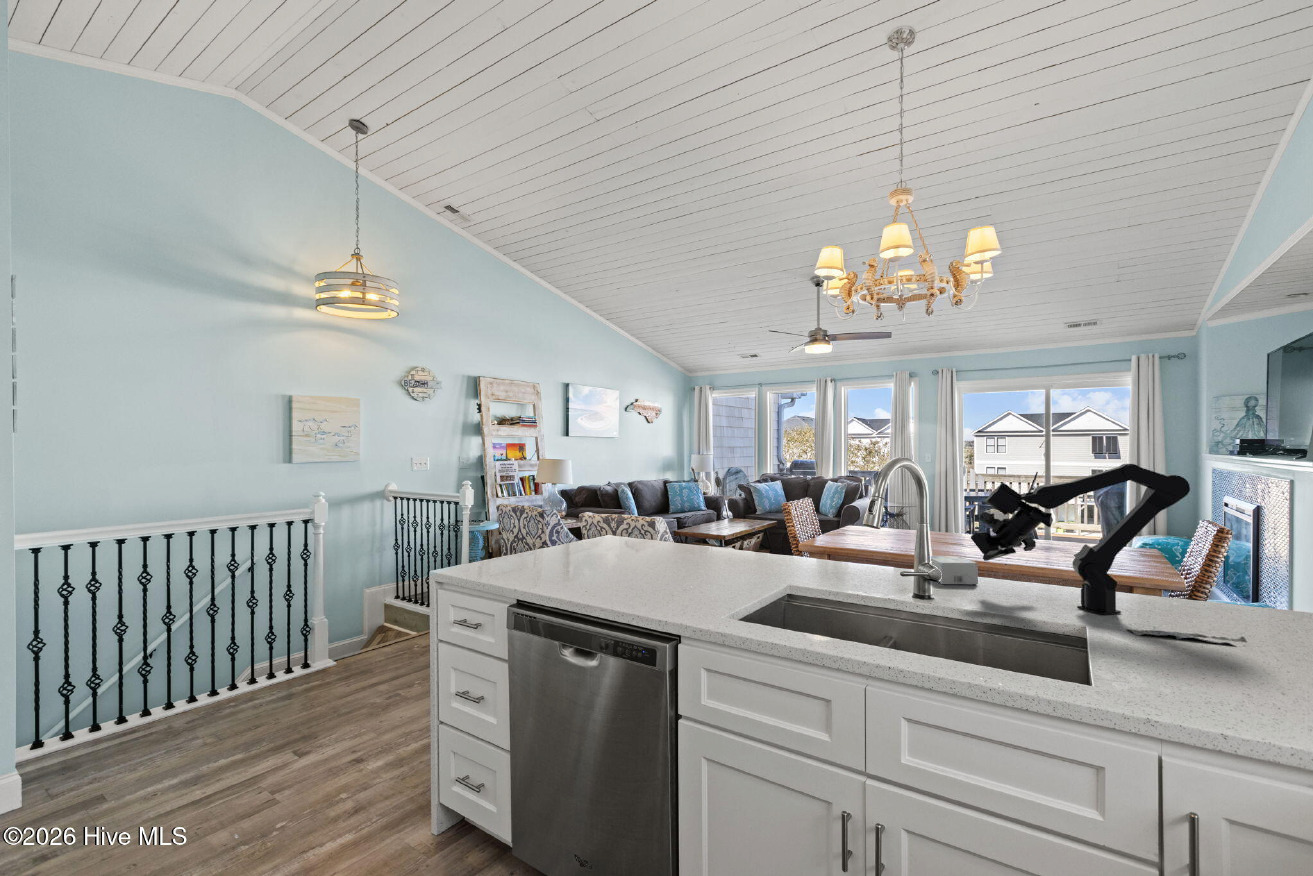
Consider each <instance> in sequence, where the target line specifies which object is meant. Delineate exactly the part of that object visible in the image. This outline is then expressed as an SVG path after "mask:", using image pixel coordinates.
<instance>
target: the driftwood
mask: <svg viewBox="0 0 1313 876" xmlns="http://www.w3.org/2000/svg"><path fill="white" fill-rule="evenodd" d="M1152 628H1153V630H1152V629H1151V630H1148V629H1147V630H1145V629H1142V630H1135V629H1128V631H1129V632H1132V633H1133V634H1134V635H1136V636H1142V635H1145V634H1146V635H1155V636H1169V635H1170V636H1175V637H1176V640H1179V639H1186V638H1190V639H1193V640H1194V639H1195V640H1200V641H1204V642H1207V643H1216V644H1219V642H1217V641H1214V640H1218V641H1219V640H1220V641H1221V642H1220V644H1224V645H1232V646H1233V647H1237V645H1234V644H1232V643H1231V642H1234V643H1236V642H1237V643H1238V642H1239V643H1240V642H1241V643H1248V641H1247V639H1246V637H1245V636H1240V637H1239V638H1228V637H1226V636H1225V637H1224V636H1218V637H1217V636H1208V635H1205V634H1200V633H1188V632H1186V633H1185V632H1178V631H1164V630H1156V629H1155V627H1152ZM1154 629H1155V630H1154ZM1203 638H1204V639H1203ZM1205 638H1207V639H1209V638H1210V639H1214V640H1207V639H1205ZM1223 641H1224V642H1223ZM1227 641H1228V642H1227ZM1230 641H1231V642H1230ZM1242 647H1246V648H1247V647H1250V646H1247V645H1242Z"/></svg>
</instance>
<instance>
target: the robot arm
mask: <svg viewBox="0 0 1313 876" xmlns="http://www.w3.org/2000/svg"><path fill="white" fill-rule="evenodd" d="M1129 481H1131V482H1133V483H1136V484H1138V485H1141V486H1143V487H1146V489H1145V490H1144V492H1143V494H1142V497H1141V499H1140V501H1139V502H1138V503H1137V504H1136V505H1135V506H1134V507H1133V508H1132V509H1131V510H1130V511H1129V512H1128V513H1127V514H1126V515H1125V516H1124V517H1123V518H1122V519H1121V520H1120V521H1119V523H1117V524H1116V525H1115V527H1113V529H1111V531H1110V532H1109V533H1107V534H1106V535H1105V537H1104V538H1103V539H1101V540H1100V541H1099V543H1097V544H1095V545H1093V546H1090V545H1088V544H1084V545H1083V546H1082V548H1081V549H1080V550H1079V552H1077V553H1075V554H1073V557H1075V558H1074V559H1073V560H1072V568H1073V570H1074V572H1075V573H1076V574H1077V575H1079V576H1080V578H1082V581H1083V583H1082V584H1081V589H1080V604H1081V605H1077V606H1076V608H1077V609H1080V610H1083V611H1086V612H1090V613H1094V614H1097V615H1113V614H1114V615H1115V614H1121V613H1122V611H1121V610H1118V609H1117V604H1116V603H1117V600H1116V599H1117V597H1116V595H1117V594H1116V593H1117V592H1116V591H1117V589H1116V588H1117V586H1118V581H1116V580H1115V579H1114V578H1113V577H1112V576H1111V575H1110V574H1109V573H1108V572H1109V571H1110V569H1111V567H1113V566H1112V565H1113V563H1114V561H1115V558H1116V557H1117V555H1118V554H1119V553H1120V552H1121V551H1122V550H1123V549H1124V548H1125V547H1126V546H1128V544H1129V543H1130V542H1131V541H1132V540H1134V538H1135V537H1136V536H1137V535H1138V534H1139V533H1140V532H1141V531H1142V530H1143V529H1144V528H1145V527H1146V526H1147V525H1148V524H1149V523H1150V522H1151V521H1153V519H1154V518H1155V517H1156V516H1158V514H1159V513H1160V512H1162V511H1164V510H1166V509H1167V508H1170V507H1171V506H1173V505H1175V504H1177V503H1178V502H1180V501H1181V500H1182V499H1184V498H1185V497H1187V496H1188V494H1189V493H1190V491H1191V488H1190V487H1191V486H1190V483H1189V481H1188V480H1187V479H1186V478H1185V477H1183V476H1180V475H1177V474H1169V473H1164V474H1162V473H1159V472H1156V471H1153V470H1151V469H1148V468H1143V467H1141V466H1139V465H1137V464H1135V463H1123V464H1121V465H1119V466H1116V467H1113V468H1110V469H1109V468H1108V469H1106V470H1103V471H1099V472H1097V473H1092V474H1091V475H1090V474H1089V475H1087V476H1084V477H1080V478H1077V479H1073V480H1071V481H1070V480H1069V481H1065V482H1056V483H1049V484H1041V485H1039V486H1037V487H1035V488H1034V490H1033V491H1029V492H1023V493H1019V492H1017V491H1016V490H1014V489H1012V488H1011V487H1010V486H1009V485H1008V484H1006V483H1005V482H1001V483H1000V484H999V486H997V487H996V488H995V489H994V490H992V491H991V493H990V494H989V495H988V496H987V498H986V499H985V501H984V502H985V503H986V504H987V505H989V506H990V507H992V508H994V509H991V510H990V509H988V510H985V511H982V513H980V514H979V520H980V521H981V522H982V523H984V524H985V525H987V526H989V527H991V528H992V529H991V531H992V533H993V534H995V535H991V534H990V533H989V531H984V530H983V531H974V533H973V534H972V535H971V536H970V539H971V541H972V542H973V543H974V544H975V546H976V547H977V548H978V549H979V551H980V552H981V553H982V555H983V556H982V559H983V561H984V562H987V561H988V562H989V561H991V560H994V559H998V558H1002V557H1005V556H1008V555H1013V554H1016V553H1017V551H1016V549H1015V548H1021V546H1022V545H1023V544H1024V547H1022V548H1023V551H1024V552H1030V551H1031V552H1032V551H1033V550H1034V549H1035V548H1036V546H1037V544H1036V543H1037V541H1035V539H1034V538H1033V537H1032V536H1033V534H1032V532H1033V531H1035V529H1036V528H1038V527H1039V525H1041V524H1043V525H1044V526H1046V527H1047V528H1051V527H1052V524H1053V521H1054V519H1053V516H1052V515H1053V514H1052V513H1051V512H1045V511H1043V510H1042V509H1040V508H1043V509H1045V510H1053V509H1057V508H1058V507H1060V506H1062V505H1064V504H1066V503H1068V502H1070V501H1071V500H1073V499H1075V498H1077V497H1079V496H1082V495H1086V494H1089V493H1093V492H1096V491H1099V490H1102V489H1105V488H1106V489H1107V488H1109V487H1112V486H1115V485H1118V484H1122V483H1126V482H1129ZM1033 505H1037V506H1039V507H1040V508H1039V507H1037V506H1033ZM1008 514H1010V515H1012V516H1011V517H1010V518H1009V517H1008V516H1007V515H1008Z"/></svg>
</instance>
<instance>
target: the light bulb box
mask: <svg viewBox="0 0 1313 876" xmlns="http://www.w3.org/2000/svg"><path fill="white" fill-rule="evenodd" d="M931 561H932V563H933V565H935V566H936V567H938V569H940V571H941V572H942V579H941V581H940V583H939V584H940V585H942V584H978V585H979V576H978V575H979V572H978V570H979V569H978V568H979V567H978V562H975V561H974V560H970V559H968V558H966V557H964V556H948V555H947V556H945V555H944V556H943V555H941V556H940V555H939V556H938V555H935V556H934V555H931Z"/></svg>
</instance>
